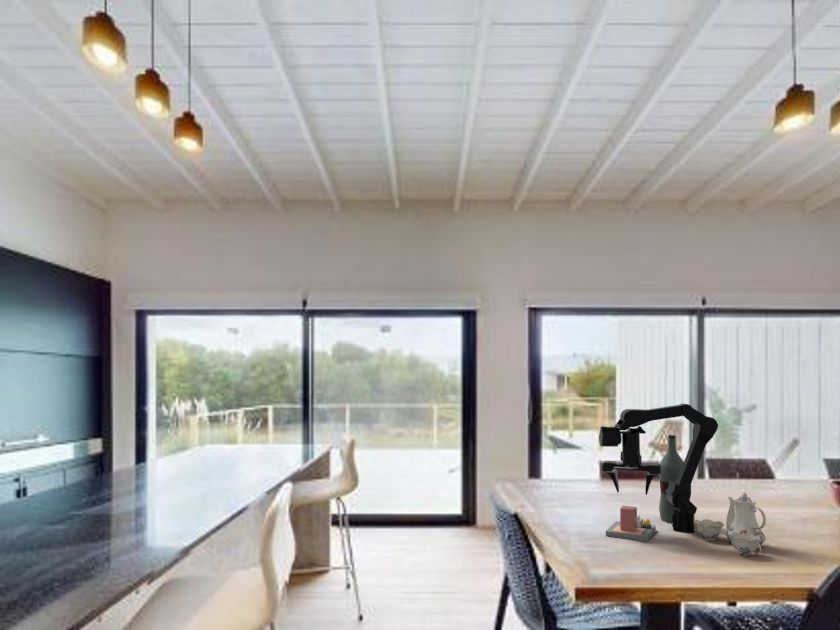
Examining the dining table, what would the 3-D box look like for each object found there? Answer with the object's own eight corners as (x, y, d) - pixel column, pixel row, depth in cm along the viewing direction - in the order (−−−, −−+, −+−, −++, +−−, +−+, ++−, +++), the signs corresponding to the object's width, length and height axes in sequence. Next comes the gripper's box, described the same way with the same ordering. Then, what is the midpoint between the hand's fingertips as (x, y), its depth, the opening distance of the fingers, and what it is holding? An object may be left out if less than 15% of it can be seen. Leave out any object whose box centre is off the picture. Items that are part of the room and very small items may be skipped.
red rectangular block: (637, 529, 224) (636, 507, 224) (634, 532, 220) (634, 509, 221) (623, 527, 226) (623, 505, 226) (620, 530, 222) (620, 508, 223)
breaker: (639, 523, 231) (639, 514, 231) (637, 526, 227) (637, 516, 228) (628, 522, 232) (628, 513, 232) (626, 524, 229) (626, 515, 229)
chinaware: (685, 541, 223) (680, 489, 224) (728, 532, 228) (723, 482, 228) (749, 566, 196) (743, 507, 197) (796, 556, 201) (790, 498, 202)
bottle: (660, 522, 242) (659, 436, 244) (658, 516, 250) (656, 433, 252) (689, 524, 239) (687, 437, 241) (685, 518, 248) (684, 434, 250)
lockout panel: (655, 530, 231) (655, 516, 231) (647, 541, 216) (647, 526, 217) (616, 525, 237) (615, 512, 237) (605, 535, 222) (605, 522, 223)
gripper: (662, 445, 237) (663, 491, 236) (606, 442, 245) (607, 487, 244) (659, 449, 227) (660, 497, 226) (601, 446, 235) (602, 492, 234)
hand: (632, 493), depth 233 cm, fingers open, 9 cm apart
